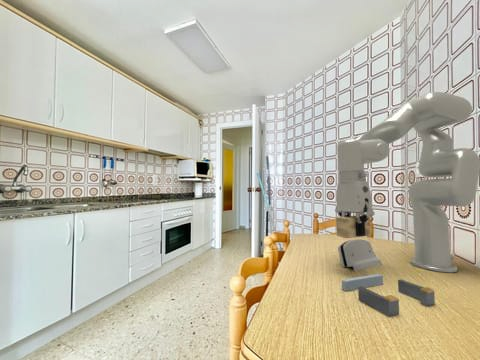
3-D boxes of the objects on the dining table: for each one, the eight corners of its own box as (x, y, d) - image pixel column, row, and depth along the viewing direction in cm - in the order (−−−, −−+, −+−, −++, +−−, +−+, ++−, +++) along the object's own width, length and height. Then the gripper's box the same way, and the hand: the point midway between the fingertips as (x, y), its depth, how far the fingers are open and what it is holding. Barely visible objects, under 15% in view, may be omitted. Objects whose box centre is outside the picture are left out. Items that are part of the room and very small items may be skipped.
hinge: (355, 271, 68) (345, 240, 72) (342, 271, 72) (333, 242, 76) (382, 264, 76) (372, 236, 80) (370, 264, 80) (361, 238, 84)
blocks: (401, 290, 55) (400, 277, 55) (435, 304, 48) (434, 289, 48) (358, 300, 49) (358, 285, 50) (389, 317, 42) (389, 299, 43)
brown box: (359, 233, 70) (358, 215, 70) (370, 235, 66) (369, 216, 67) (336, 235, 67) (335, 216, 67) (347, 238, 63) (346, 218, 63)
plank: (378, 282, 60) (378, 273, 60) (383, 284, 58) (382, 275, 59) (341, 289, 55) (341, 279, 55) (345, 291, 54) (345, 281, 54)
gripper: (384, 175, 61) (388, 238, 60) (339, 179, 77) (342, 229, 76) (366, 175, 59) (370, 240, 57) (323, 179, 74) (325, 231, 73)
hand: (354, 233), depth 67 cm, fingers closed on brown box, 4 cm apart
